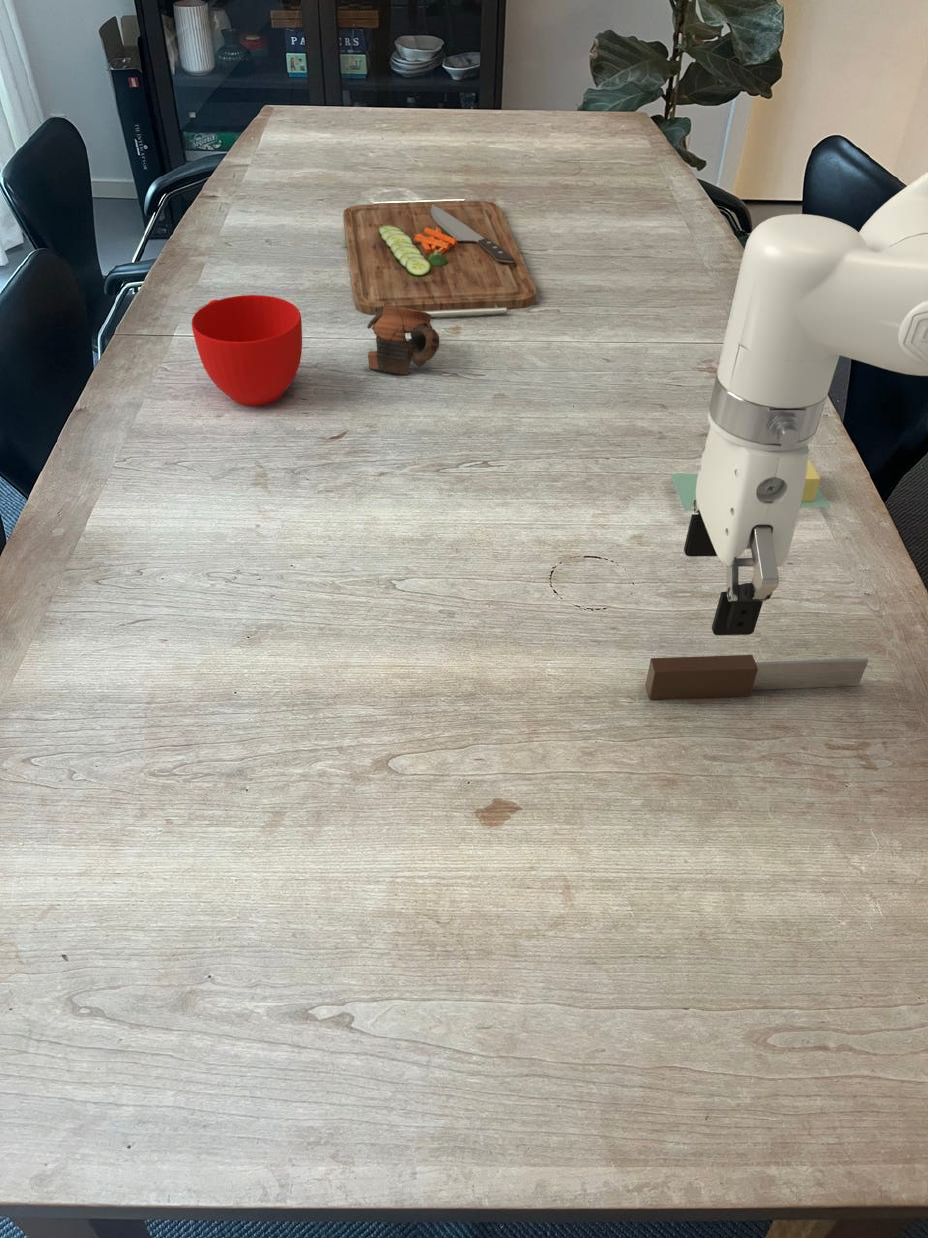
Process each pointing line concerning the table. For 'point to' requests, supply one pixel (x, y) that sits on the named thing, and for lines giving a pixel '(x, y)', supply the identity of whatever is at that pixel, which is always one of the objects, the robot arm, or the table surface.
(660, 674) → the knife
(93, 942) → the table surface
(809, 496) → the butter block
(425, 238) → the chopping board
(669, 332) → the table surface
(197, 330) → the ceramic cup
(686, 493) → the butter dish
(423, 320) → the pottery mug
